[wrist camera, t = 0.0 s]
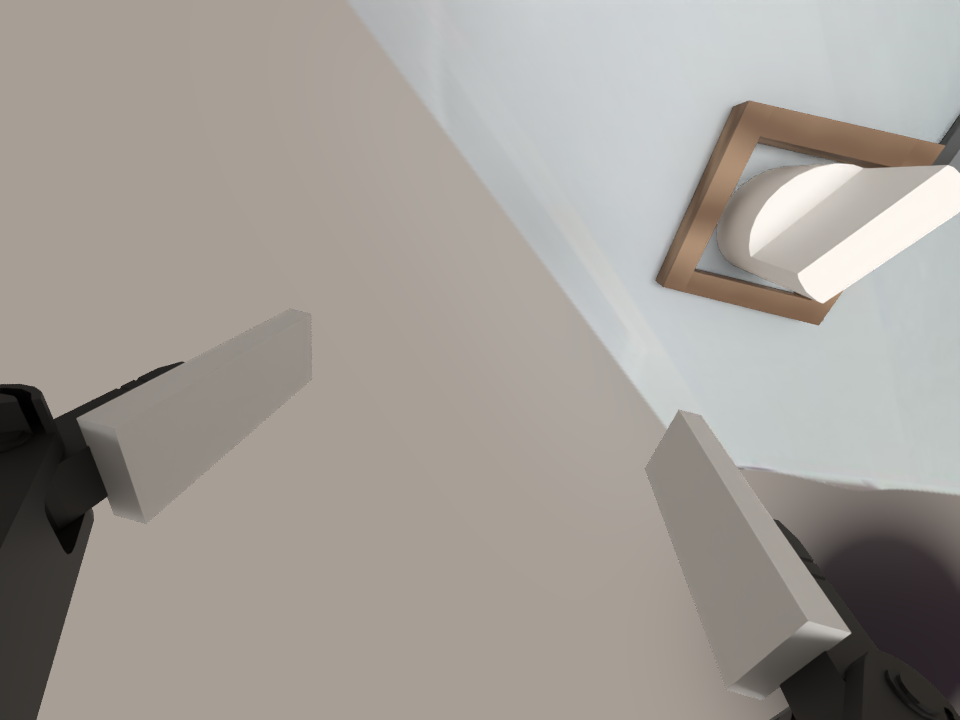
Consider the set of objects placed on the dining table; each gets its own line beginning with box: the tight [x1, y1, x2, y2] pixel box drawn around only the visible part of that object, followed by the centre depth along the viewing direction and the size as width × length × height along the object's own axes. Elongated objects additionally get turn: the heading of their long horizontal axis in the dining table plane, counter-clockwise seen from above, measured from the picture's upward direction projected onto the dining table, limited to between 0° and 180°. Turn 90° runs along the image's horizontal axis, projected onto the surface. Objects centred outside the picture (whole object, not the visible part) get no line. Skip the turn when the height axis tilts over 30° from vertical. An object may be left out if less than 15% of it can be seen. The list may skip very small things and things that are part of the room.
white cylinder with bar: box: [716, 163, 960, 303], centre depth 28 cm, size 9×9×12 cm
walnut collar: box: [656, 101, 945, 325], centre depth 32 cm, size 15×15×2 cm
